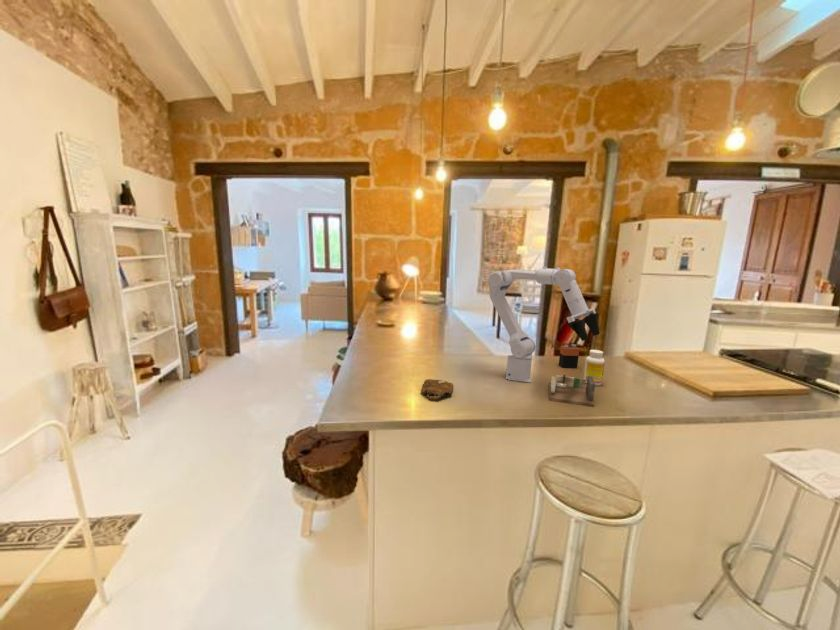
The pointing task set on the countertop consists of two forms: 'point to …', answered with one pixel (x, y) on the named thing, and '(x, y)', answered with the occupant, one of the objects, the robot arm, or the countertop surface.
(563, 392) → the base
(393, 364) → the countertop surface
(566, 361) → the battery
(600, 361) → the supplement bottle
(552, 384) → the silver cylinder with block
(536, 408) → the countertop surface
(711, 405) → the countertop surface
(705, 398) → the countertop surface
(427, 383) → the decorative rock
